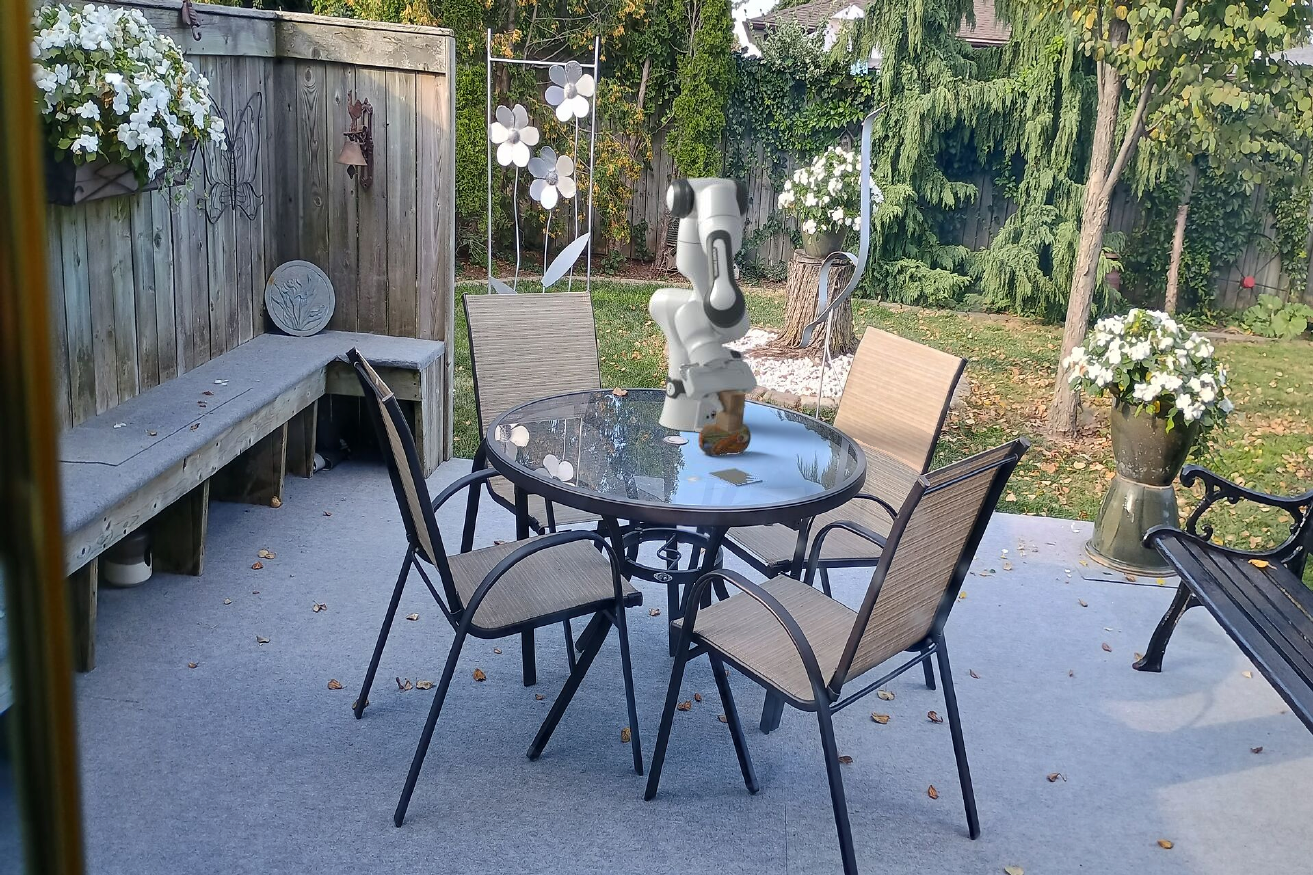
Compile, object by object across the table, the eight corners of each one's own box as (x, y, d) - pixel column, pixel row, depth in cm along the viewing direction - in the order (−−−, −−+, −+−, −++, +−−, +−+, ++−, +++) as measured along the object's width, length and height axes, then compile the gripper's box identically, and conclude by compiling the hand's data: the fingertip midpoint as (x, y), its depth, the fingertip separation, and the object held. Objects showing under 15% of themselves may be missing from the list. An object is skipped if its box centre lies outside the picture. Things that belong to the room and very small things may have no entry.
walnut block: (729, 424, 272) (733, 389, 270) (742, 429, 269) (745, 393, 266) (715, 426, 269) (718, 391, 267) (727, 431, 266) (731, 395, 263)
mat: (735, 470, 281) (735, 468, 281) (761, 481, 273) (762, 479, 273) (709, 474, 276) (709, 472, 275) (735, 486, 268) (735, 484, 268)
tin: (701, 457, 290) (704, 426, 288) (695, 453, 293) (698, 423, 290) (749, 453, 297) (753, 423, 295) (743, 450, 300) (746, 420, 297)
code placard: (707, 476, 275) (707, 475, 275) (731, 487, 268) (731, 485, 268) (685, 480, 271) (685, 478, 270) (709, 491, 264) (709, 489, 264)
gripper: (683, 357, 263) (705, 407, 259) (747, 352, 276) (770, 399, 271) (670, 372, 268) (692, 421, 263) (734, 365, 280) (756, 412, 275)
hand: (732, 409), depth 267 cm, fingers closed on walnut block, 5 cm apart
